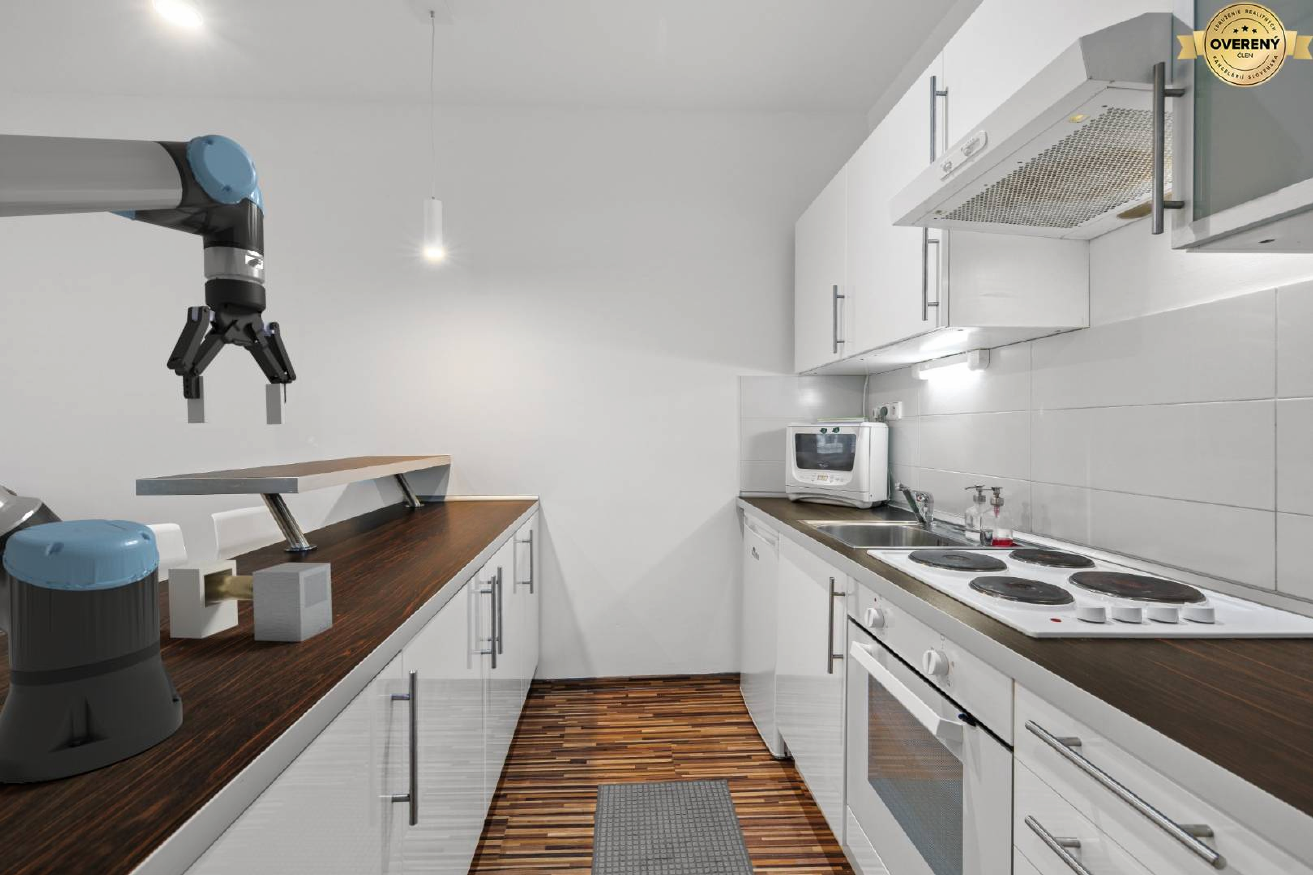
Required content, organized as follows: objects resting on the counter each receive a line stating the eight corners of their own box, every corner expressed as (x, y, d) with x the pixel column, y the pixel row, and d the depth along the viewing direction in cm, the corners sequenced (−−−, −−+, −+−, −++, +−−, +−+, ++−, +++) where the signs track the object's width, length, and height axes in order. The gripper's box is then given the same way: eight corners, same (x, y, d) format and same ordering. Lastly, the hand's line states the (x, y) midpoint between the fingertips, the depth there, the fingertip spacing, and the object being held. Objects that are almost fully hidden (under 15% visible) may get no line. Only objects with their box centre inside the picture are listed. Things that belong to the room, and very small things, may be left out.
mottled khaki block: (287, 596, 102) (286, 573, 102) (268, 603, 98) (267, 579, 98) (216, 595, 104) (215, 572, 104) (194, 602, 100) (194, 578, 100)
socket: (238, 624, 105) (235, 560, 105) (201, 638, 98) (199, 569, 98) (208, 623, 106) (206, 559, 106) (170, 637, 99) (168, 568, 99)
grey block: (332, 627, 102) (330, 562, 102) (301, 641, 95) (299, 572, 95) (288, 626, 103) (286, 562, 103) (254, 640, 97) (252, 572, 97)
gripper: (177, 257, 77) (183, 421, 77) (317, 299, 102) (321, 423, 102) (129, 261, 79) (134, 423, 79) (278, 302, 103) (282, 425, 103)
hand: (240, 424), depth 90 cm, fingers open, 13 cm apart
